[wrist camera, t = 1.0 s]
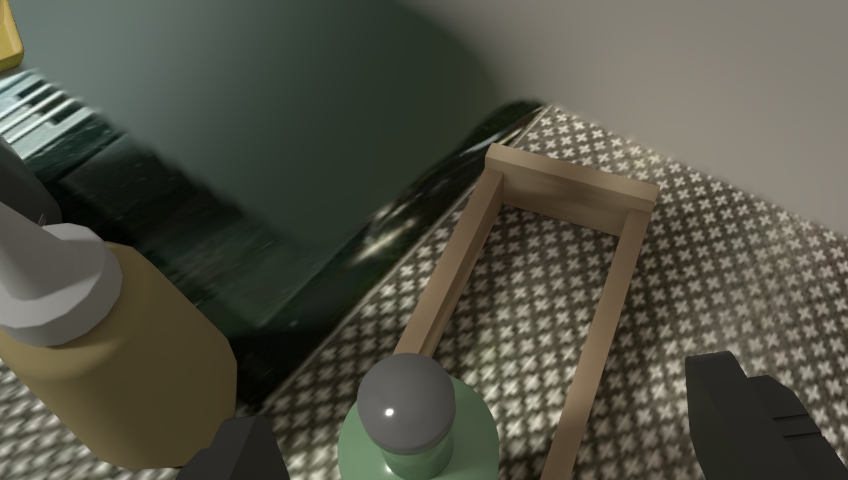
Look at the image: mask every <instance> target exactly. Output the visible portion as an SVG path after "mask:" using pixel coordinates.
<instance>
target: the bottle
mask: <svg viewBox="0 0 848 480" xmlns="http://www.w3.org/2000/svg"><path fill="white" fill-rule="evenodd" d="M338 465H339V470H340V474H341V478H342V480H498V468H499V438H498V432H497V428H496V424H495V421H494V419H493V416H492V414H491V412H490V410H489V408H488V407H487V405H486V404H485V402H484V401H483V400H482V398H481V397H480V396H479V395H478V394H477V393H476V392H475V391H474V390H473V389H472V388H471V387H469V386H468V385H467V384H465V383H464V382H462V381H460V380H459V379H457V378H455V377H452V376H450V375H449V374H448V373H447V372H446V370H445V369H444V368H443V367H442V366H441V365H440V364H439V363H438V362H436V361H435V360H433V359H432V358H430V357H427V356H425V355H422V354H417V353H399V354H394V355H391V356H388V357H386V358H384V359H382V360H381V361H379V362H378V363H376V364H375V365H374V366H373V367H372V368H371V369H370V370H369V371H368V372H367V373H366V375H365V376H364V378H363V380H362V382H361V384H360V386H359V390H358V394H357V401H356V402H355V403H354V405H353V406H352V407H351V409H350V411H349V412H348V414H347V416H346V418H345V420H344V423H343V425H342V428H341V432H340V435H339V442H338Z"/></svg>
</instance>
